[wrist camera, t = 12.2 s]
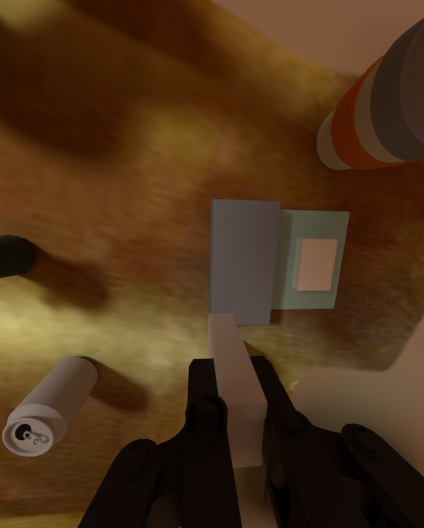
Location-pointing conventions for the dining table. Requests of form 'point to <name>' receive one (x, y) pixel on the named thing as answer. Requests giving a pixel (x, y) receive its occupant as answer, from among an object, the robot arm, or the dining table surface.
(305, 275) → the beige rectangular block
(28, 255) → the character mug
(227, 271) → the board
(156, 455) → the robot arm
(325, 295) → the mat
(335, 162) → the reusable coffee cup
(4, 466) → the dining table surface
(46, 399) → the can
